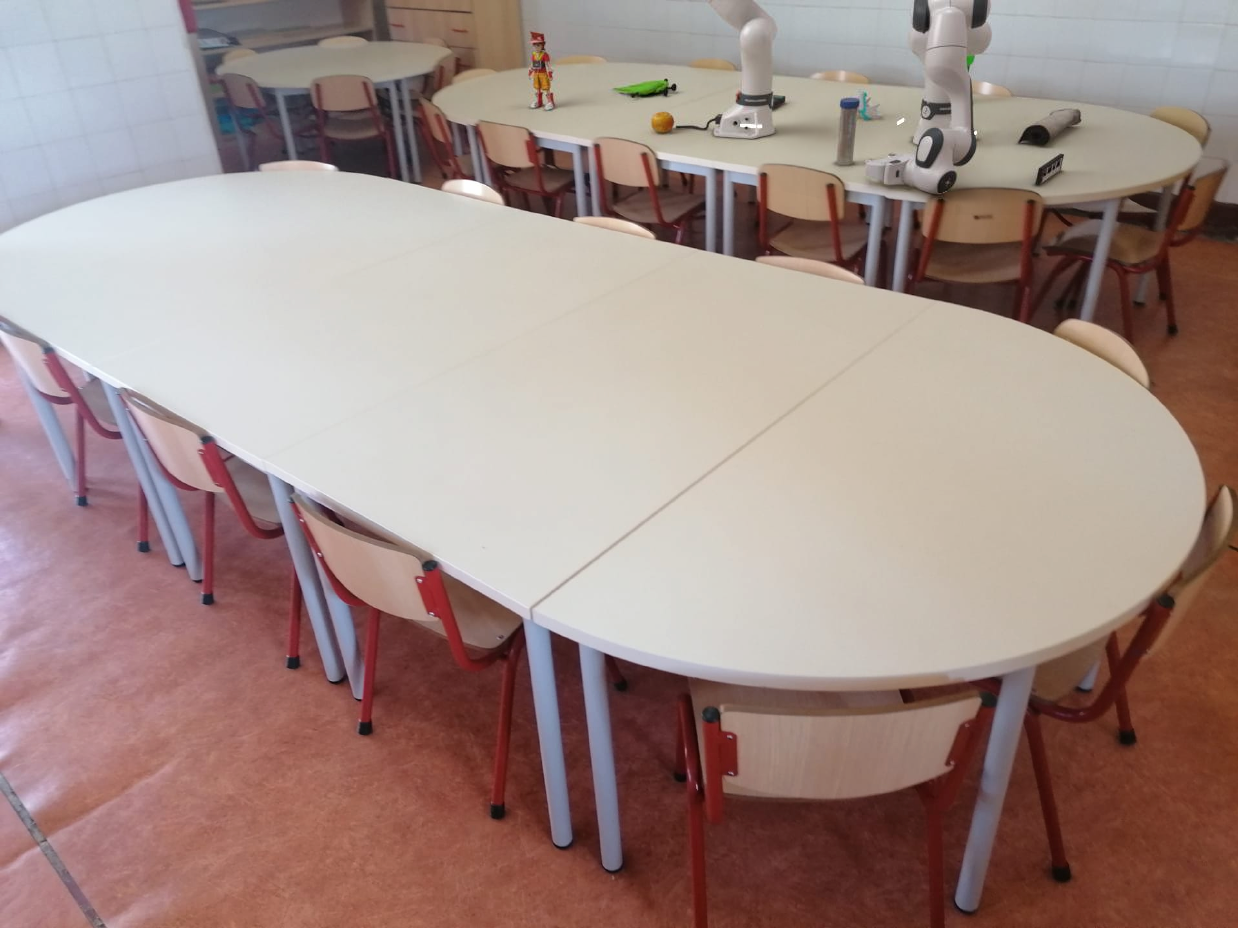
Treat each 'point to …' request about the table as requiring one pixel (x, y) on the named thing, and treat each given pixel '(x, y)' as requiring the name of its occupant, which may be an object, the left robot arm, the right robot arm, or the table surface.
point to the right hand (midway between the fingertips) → (878, 158)
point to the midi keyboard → (1049, 169)
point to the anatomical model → (866, 106)
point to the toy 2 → (648, 88)
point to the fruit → (662, 122)
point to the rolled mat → (1050, 126)
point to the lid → (849, 103)
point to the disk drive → (778, 100)
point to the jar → (846, 136)
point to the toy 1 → (541, 71)
